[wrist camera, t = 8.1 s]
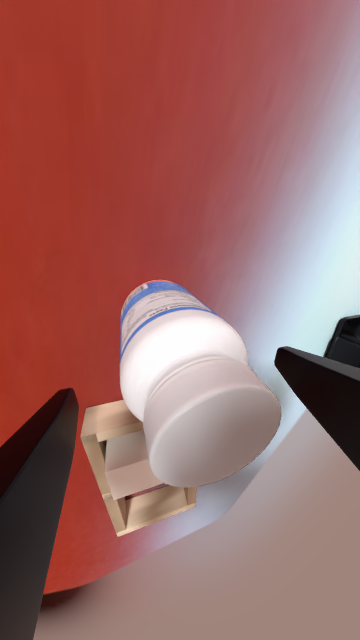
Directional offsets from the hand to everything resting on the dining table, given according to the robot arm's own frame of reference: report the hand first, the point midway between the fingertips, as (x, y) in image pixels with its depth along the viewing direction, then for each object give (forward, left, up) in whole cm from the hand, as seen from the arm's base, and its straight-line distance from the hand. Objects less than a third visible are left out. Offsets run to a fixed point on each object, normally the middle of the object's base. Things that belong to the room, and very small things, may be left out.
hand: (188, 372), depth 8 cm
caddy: (+2, +16, -6) cm, 17 cm away
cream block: (+3, +12, -7) cm, 14 cm away
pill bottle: (0, 0, -7) cm, 7 cm away
